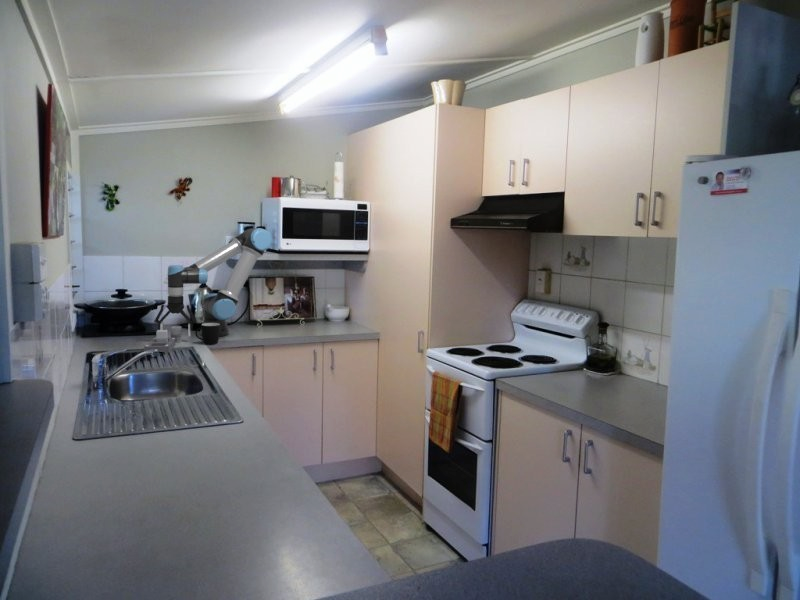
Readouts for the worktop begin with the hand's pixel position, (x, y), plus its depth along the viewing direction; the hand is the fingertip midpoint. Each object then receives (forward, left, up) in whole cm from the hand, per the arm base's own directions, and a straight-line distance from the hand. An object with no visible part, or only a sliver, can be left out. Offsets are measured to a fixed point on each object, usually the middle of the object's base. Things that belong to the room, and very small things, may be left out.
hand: (175, 336), depth 306 cm
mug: (-16, +5, -3) cm, 17 cm away
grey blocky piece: (+5, +16, -3) cm, 17 cm away
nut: (0, 0, -3) cm, 3 cm away
